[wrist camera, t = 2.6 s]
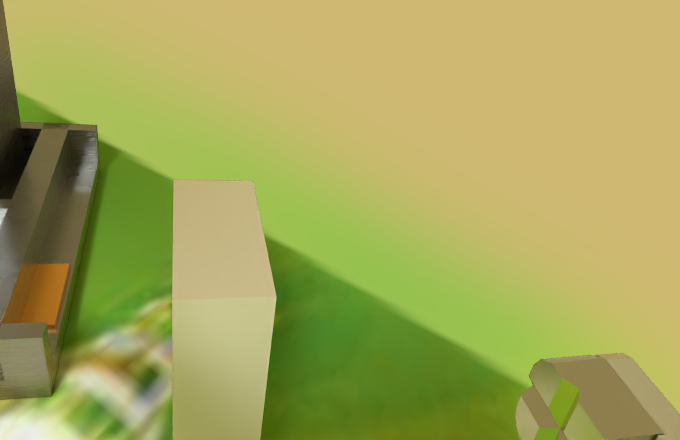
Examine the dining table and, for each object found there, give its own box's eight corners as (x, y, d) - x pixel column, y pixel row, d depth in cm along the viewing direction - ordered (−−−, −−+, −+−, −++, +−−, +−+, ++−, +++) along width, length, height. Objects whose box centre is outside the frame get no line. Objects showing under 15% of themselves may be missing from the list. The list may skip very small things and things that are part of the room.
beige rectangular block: (172, 536, 24) (172, 300, 17) (173, 396, 29) (173, 179, 23) (250, 526, 24) (276, 296, 18) (236, 392, 30) (252, 180, 24)
